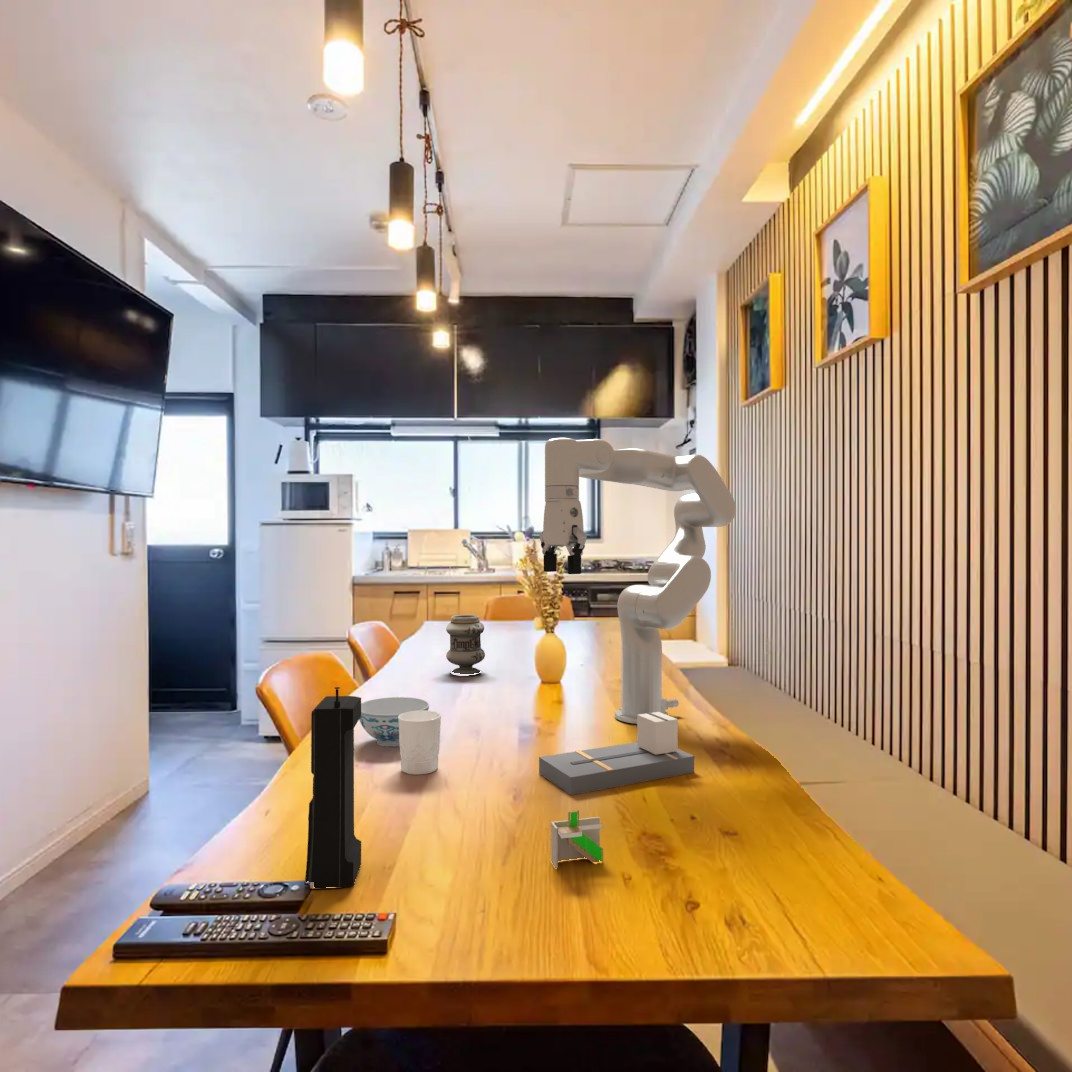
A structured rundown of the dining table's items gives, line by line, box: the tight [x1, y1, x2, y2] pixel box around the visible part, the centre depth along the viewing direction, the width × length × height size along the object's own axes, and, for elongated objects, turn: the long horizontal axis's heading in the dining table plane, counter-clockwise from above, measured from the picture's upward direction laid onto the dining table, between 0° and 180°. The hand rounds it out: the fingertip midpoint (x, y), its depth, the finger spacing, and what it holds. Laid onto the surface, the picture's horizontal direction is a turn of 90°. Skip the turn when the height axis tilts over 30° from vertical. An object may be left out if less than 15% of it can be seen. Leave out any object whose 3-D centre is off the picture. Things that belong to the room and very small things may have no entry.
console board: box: [538, 741, 695, 796], centre depth 132 cm, size 26×12×3 cm, turn 116°
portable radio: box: [304, 686, 362, 888], centre depth 93 cm, size 8×6×25 cm
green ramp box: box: [550, 809, 604, 869], centre depth 95 cm, size 4×7×8 cm, turn 105°
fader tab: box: [636, 712, 679, 755], centre depth 136 cm, size 5×6×6 cm
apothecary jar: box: [445, 614, 486, 674], centre depth 223 cm, size 12×12×18 cm
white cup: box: [398, 710, 442, 776], centre depth 134 cm, size 8×8×10 cm
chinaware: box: [358, 696, 430, 747], centre depth 151 cm, size 15×15×8 cm
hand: (561, 572), depth 158 cm, fingers open, 9 cm apart
